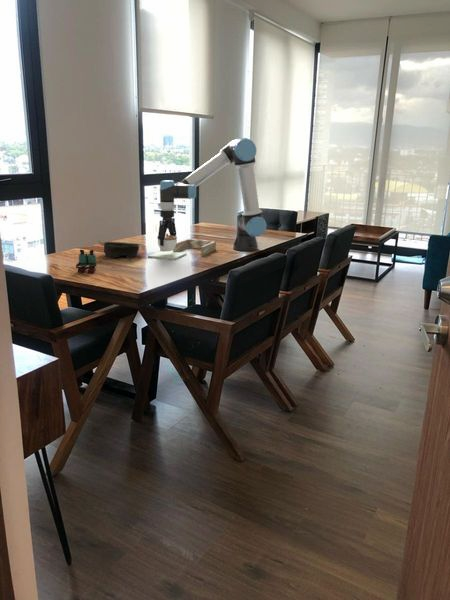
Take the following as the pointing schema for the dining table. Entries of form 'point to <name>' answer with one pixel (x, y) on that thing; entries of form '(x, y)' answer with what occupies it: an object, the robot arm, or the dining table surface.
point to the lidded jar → (169, 242)
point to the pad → (167, 255)
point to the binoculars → (86, 262)
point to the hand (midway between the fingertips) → (167, 249)
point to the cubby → (196, 245)
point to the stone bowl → (120, 249)
